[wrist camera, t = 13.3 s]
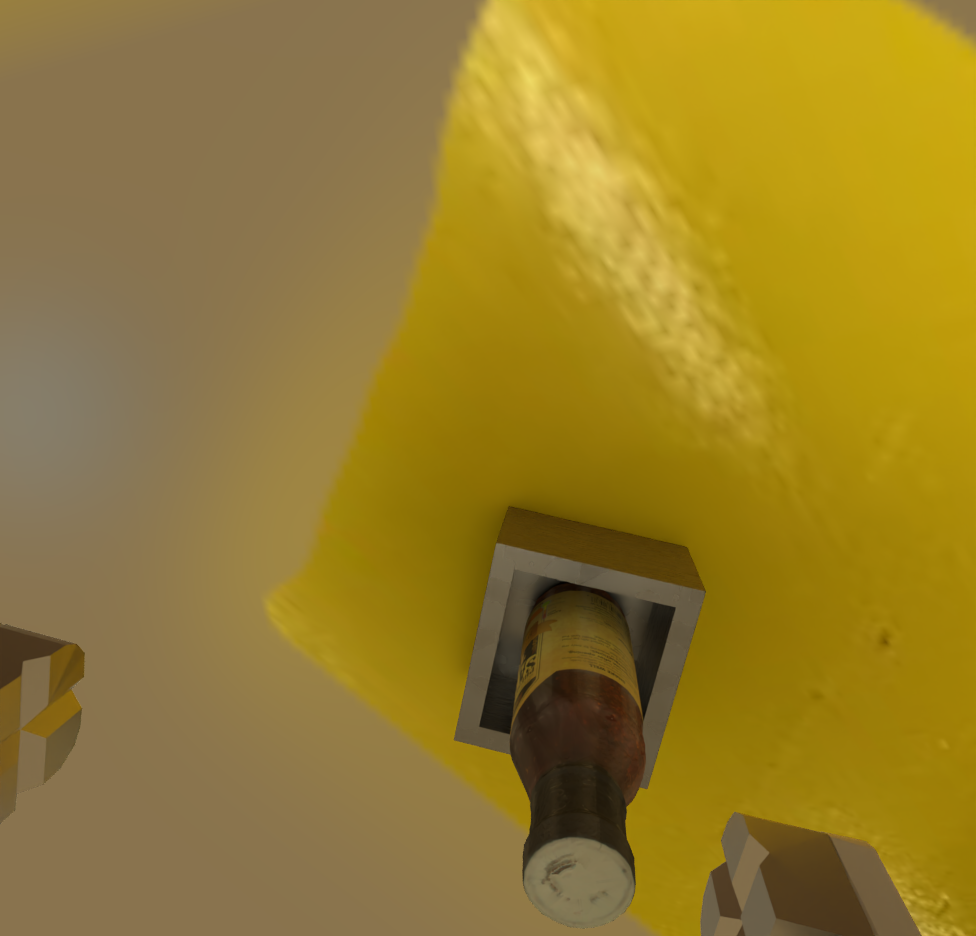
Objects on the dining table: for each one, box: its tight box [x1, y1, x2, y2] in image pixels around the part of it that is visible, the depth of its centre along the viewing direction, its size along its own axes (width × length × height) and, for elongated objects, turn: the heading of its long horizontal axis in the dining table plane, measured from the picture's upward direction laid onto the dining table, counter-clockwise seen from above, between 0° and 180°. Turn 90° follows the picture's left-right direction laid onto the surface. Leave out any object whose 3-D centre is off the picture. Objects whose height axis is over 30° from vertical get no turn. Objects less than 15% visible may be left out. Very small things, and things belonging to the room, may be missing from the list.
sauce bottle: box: [510, 583, 646, 928], centre depth 35 cm, size 6×6×20 cm
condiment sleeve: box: [454, 507, 706, 789], centre depth 43 cm, size 11×12×7 cm
